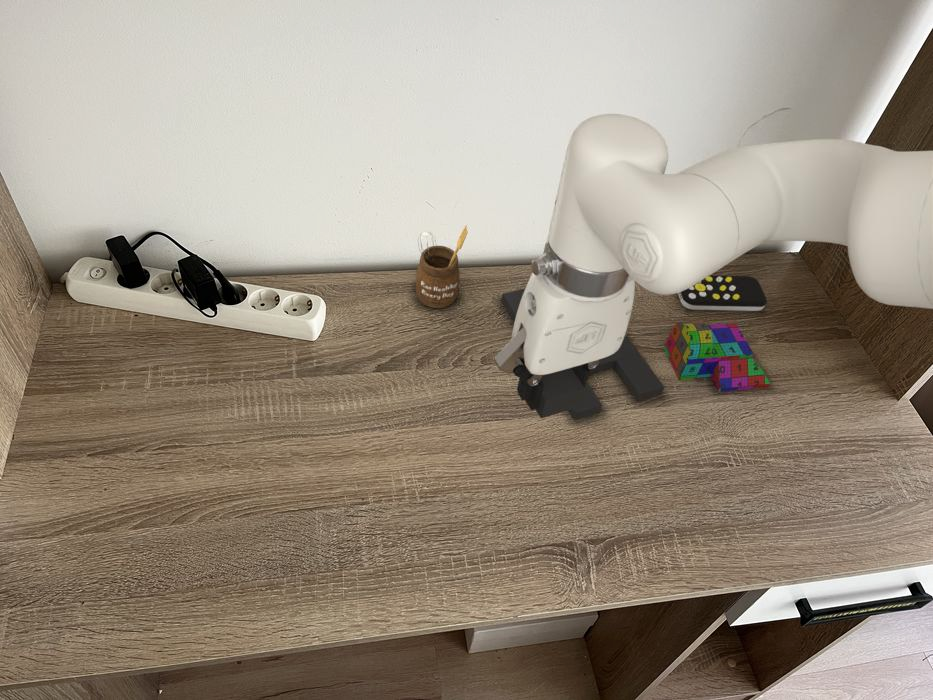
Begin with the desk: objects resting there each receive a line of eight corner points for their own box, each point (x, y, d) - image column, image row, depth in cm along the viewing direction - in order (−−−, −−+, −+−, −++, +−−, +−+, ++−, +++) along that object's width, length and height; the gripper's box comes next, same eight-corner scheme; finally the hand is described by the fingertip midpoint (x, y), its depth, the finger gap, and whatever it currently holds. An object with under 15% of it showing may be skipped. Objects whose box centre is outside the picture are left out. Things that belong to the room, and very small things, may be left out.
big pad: (661, 394, 97) (664, 387, 96) (573, 420, 93) (576, 413, 92) (580, 282, 110) (582, 274, 109) (500, 301, 106) (502, 293, 105)
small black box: (579, 406, 77) (585, 388, 75) (540, 419, 76) (545, 400, 73) (556, 371, 80) (561, 353, 78) (518, 382, 78) (523, 363, 76)
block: (685, 394, 98) (703, 360, 93) (663, 348, 103) (678, 313, 98) (768, 386, 100) (790, 353, 95) (743, 341, 105) (762, 307, 100)
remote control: (766, 312, 110) (771, 303, 108) (682, 311, 108) (686, 301, 107) (752, 283, 114) (757, 274, 112) (671, 281, 112) (675, 271, 111)
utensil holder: (413, 280, 107) (417, 213, 98) (457, 280, 108) (464, 213, 99) (416, 310, 103) (420, 243, 94) (461, 309, 104) (469, 243, 95)
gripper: (518, 312, 59) (491, 444, 72) (693, 267, 64) (637, 397, 78) (479, 251, 63) (460, 387, 77) (646, 214, 69) (601, 346, 82)
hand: (550, 391), depth 77 cm, fingers closed on small black box, 4 cm apart
